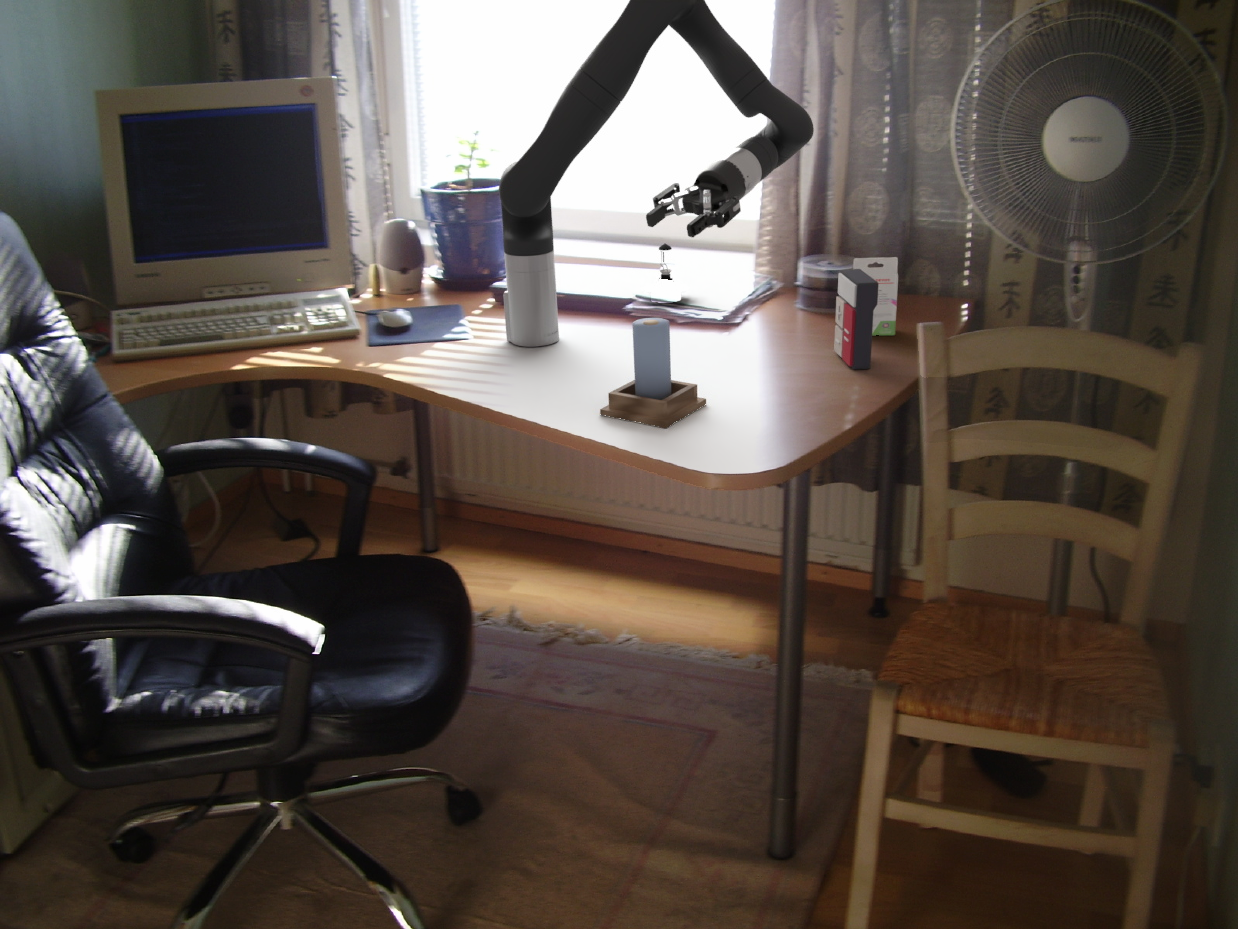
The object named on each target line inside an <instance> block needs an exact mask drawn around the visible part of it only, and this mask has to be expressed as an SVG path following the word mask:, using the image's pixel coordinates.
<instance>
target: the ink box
mask: <svg viewBox="0 0 1238 929" xmlns="http://www.w3.org/2000/svg"><path fill="white" fill-rule="evenodd" d="M898 261H899V259H898V257H897V256H894V257H893V256H891V257H890V256H889V257H860V258H859V257H856V258H853V262H852V264H853V267H852V269H861V270H862V271H863V272H865V273H866V274H867V275H869V276H870V277H871V278H873V279H874V280H875V281H877V282H878V302H877V306H876V307H875V309H874V311H873V329H872V337H873V336H875V337H876V335H879V336H895V335H896V325H897V324H896V323H897V321H896V320H897V306H898V286H899V274H898V267H899V266H898V265H899V262H898ZM875 263H877V264H878V265H881V264H882V265H883V266H881V267H869V265H873V264H875Z"/></svg>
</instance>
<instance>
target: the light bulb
mask: <svg viewBox="0 0 1238 929" xmlns="http://www.w3.org/2000/svg"><path fill="white" fill-rule="evenodd" d="M670 250H672V246H670V245H669V244H666V243H664V244H662V245H660V246H659V247H658V251H662V261H663V262H662V263H664V265H665V266H666V269H665V267H664V266H663V265H662V264H660V265H661V267H662V268H663V269H660V270H659V272H660V273H661V274H660V277H659V278H658V280H659V279H660V278H661V279H668V280H673V277H672V278H671V272H672V270H671V269H668V266H667V264H666V263H665V252H664V251H670Z"/></svg>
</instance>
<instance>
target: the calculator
mask: <svg viewBox="0 0 1238 929" xmlns="http://www.w3.org/2000/svg"><path fill="white" fill-rule="evenodd" d="M837 278H838V280H837V281H838V282H837V294H838V296H837V295H836V297H835V298H836V300H835V323H836V325H834V343H833V344H834V346H833V350H834V351H835V353H836V354H837V355H838V356H839V357H840V358H842V360H843V362H844V363H845V364H846V365H847V366H848V367H850V368H851V369H852V370H853V371H855V370H857V371H858V370H870V369H871V362H872V344H873V336H872V329H873V311H874V309H875V307H876V306H877V302H878V282H877V281H875V280H874V279H873V278H871V277H870V276H869V275H867V274H866V273H865V272H863V271H862V270H861V269H853V268H851V269H850V268H849V269H840V270H839V272H838V276H837Z"/></svg>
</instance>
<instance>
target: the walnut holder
mask: <svg viewBox="0 0 1238 929" xmlns="http://www.w3.org/2000/svg"><path fill="white" fill-rule="evenodd" d="M705 404H706V405H707V398H705V397H704V398H702V397H698V384H697V383H691V382H685V381H680V380H673V379H671V395H670V396H668V397H667V398H665V399H663V400H656V399H651V398H646V397H640V396H636V395H635V379H633V380H632V381H630V382H627V383H626V384H623V385H622V386H620V387H617V388H615V389H614V390H612V391H610V392H608V404H607V405H606V406H604V407H601V408H600V409H599V411H600V412H599V413H600V414H601V415H606V416H610V417H609V418H611V417H614V418H613V419H616V418H621V419H625V420H624V421H626V420H629V421H628V422H631V421H636V422H641V423H644V424H643V425H646V424H648V425H647V426H651V425H655V426H654V427H656V426H659V427H658V428H661V427H662V428H661V429H668V428H669V426H670V425H671V426H673V425H674V424H673V423H674V422H676V421H678V422H680V421H681V420H683V419H684V417H685V416H686V417H688V416H689V415H688V414H690V415H691V414H693V413H694V412H693V411H695V412H697V411H698V410H700V409H701V408H700V407H702V406H703V407H704V405H705ZM706 405H705V406H706ZM703 407H702V408H703ZM699 408H700V409H699ZM697 409H698V410H697ZM696 410H697V411H696ZM692 412H693V413H692ZM600 414H599V415H600ZM601 415H600V416H601ZM687 415H688V416H687ZM606 416H605V417H606ZM686 417H685V418H686ZM682 418H683V419H682ZM621 419H620V420H621ZM680 419H681V420H680ZM679 420H680V421H679ZM636 422H635V423H636ZM641 423H640V424H641ZM676 423H677V422H676ZM672 424H673V425H672ZM671 426H670V427H671ZM667 427H668V428H667Z"/></svg>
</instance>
